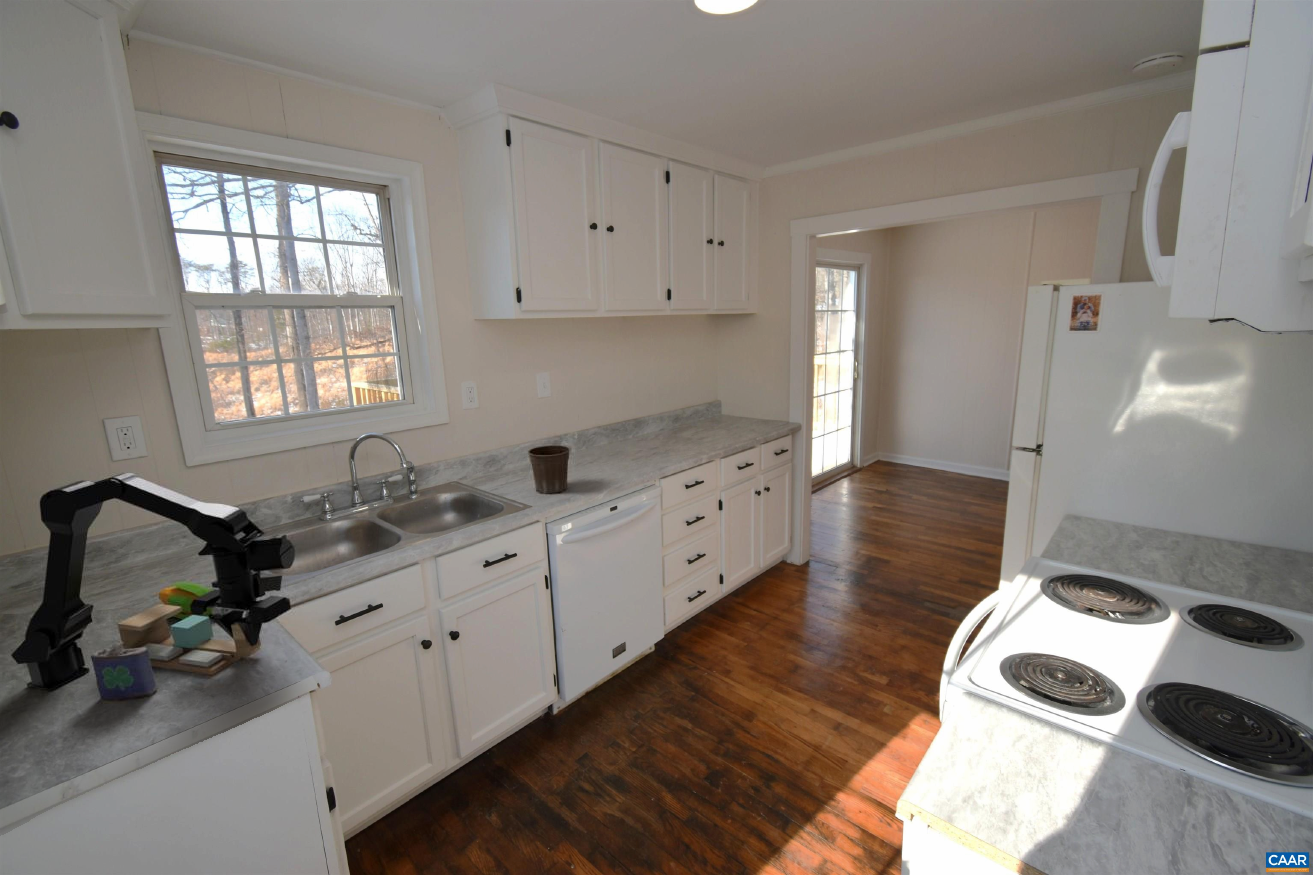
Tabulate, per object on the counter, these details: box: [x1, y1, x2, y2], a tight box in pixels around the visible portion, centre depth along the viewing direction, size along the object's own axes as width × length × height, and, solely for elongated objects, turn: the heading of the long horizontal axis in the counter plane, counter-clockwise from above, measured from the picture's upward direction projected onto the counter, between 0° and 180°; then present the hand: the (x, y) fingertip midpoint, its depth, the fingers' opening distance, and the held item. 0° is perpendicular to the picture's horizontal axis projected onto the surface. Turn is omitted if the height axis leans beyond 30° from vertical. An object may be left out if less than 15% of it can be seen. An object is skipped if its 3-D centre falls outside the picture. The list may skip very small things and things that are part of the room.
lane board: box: [117, 603, 242, 676], centre depth 116 cm, size 8×22×9 cm, turn 77°
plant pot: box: [527, 445, 571, 495], centre depth 223 cm, size 16×16×16 cm
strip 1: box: [140, 643, 222, 667], centre depth 115 cm, size 3×19×1 cm, turn 77°
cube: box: [170, 615, 214, 648], centre depth 118 cm, size 4×4×4 cm
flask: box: [90, 640, 158, 702], centre depth 104 cm, size 9×3×11 cm, turn 95°
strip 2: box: [172, 622, 262, 659], centre depth 117 cm, size 3×19×7 cm, turn 77°
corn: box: [158, 581, 213, 621], centre depth 134 cm, size 7×8×20 cm
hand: (248, 643), depth 115 cm, fingers closed on strip 2, 3 cm apart
